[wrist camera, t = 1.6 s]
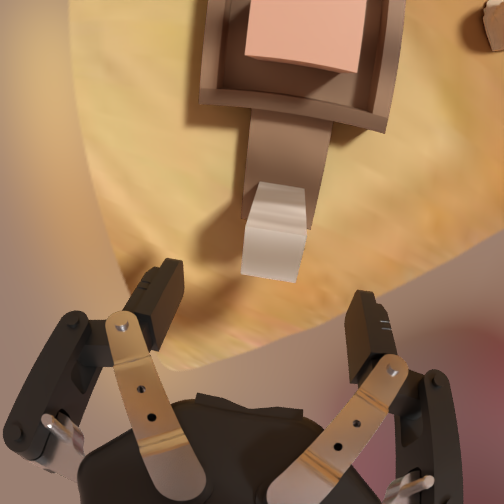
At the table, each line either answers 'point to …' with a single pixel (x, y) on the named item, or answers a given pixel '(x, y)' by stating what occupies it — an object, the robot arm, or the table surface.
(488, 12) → the decorative ornament
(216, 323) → the table surface
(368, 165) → the table surface
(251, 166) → the tray
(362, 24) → the terracotta cube
